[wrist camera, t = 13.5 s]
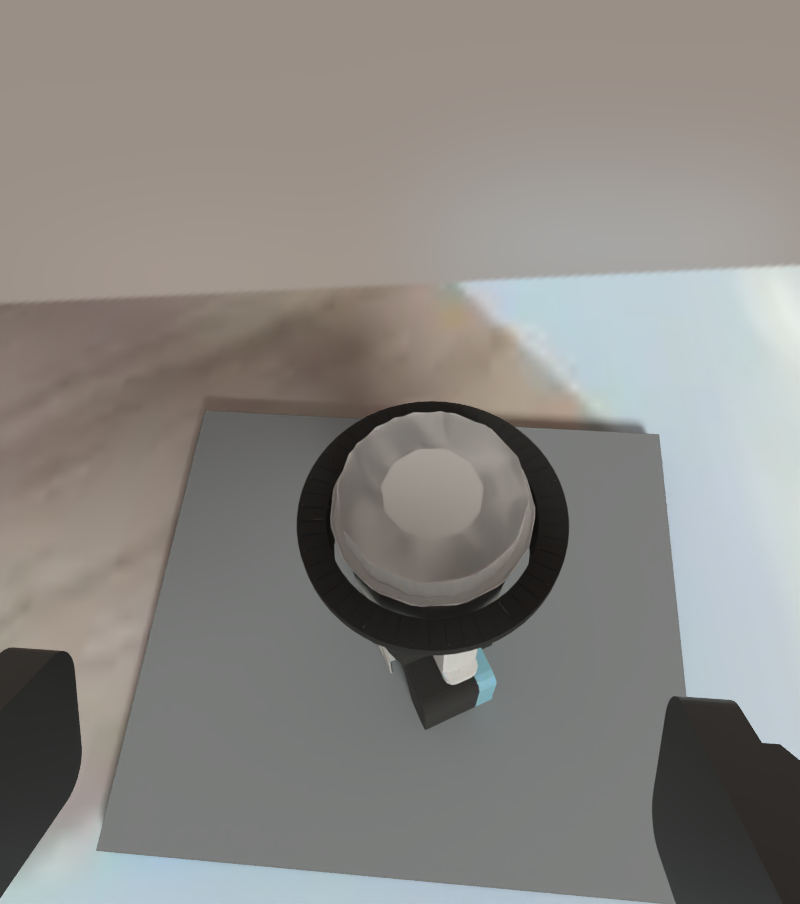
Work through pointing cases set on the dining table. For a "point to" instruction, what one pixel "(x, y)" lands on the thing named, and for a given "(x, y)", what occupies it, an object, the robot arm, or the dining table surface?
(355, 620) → the push button
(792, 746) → the dining table surface
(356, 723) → the rubber mat
